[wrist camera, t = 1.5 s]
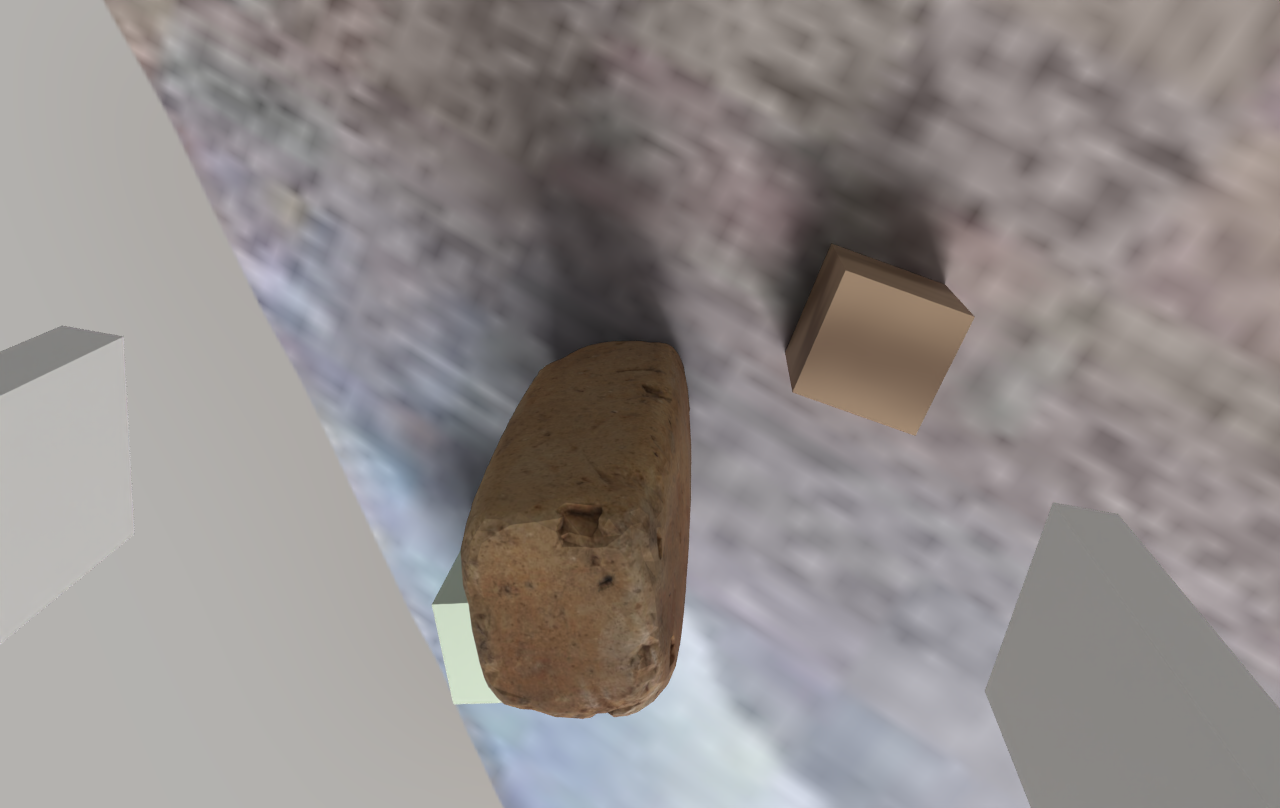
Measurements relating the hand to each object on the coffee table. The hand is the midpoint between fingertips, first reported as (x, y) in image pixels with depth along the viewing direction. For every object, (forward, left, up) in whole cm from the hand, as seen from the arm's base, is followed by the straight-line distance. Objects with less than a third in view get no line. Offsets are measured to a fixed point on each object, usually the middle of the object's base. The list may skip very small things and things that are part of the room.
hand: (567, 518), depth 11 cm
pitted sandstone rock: (+14, -1, -36) cm, 39 cm away
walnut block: (+6, +10, -36) cm, 38 cm away
